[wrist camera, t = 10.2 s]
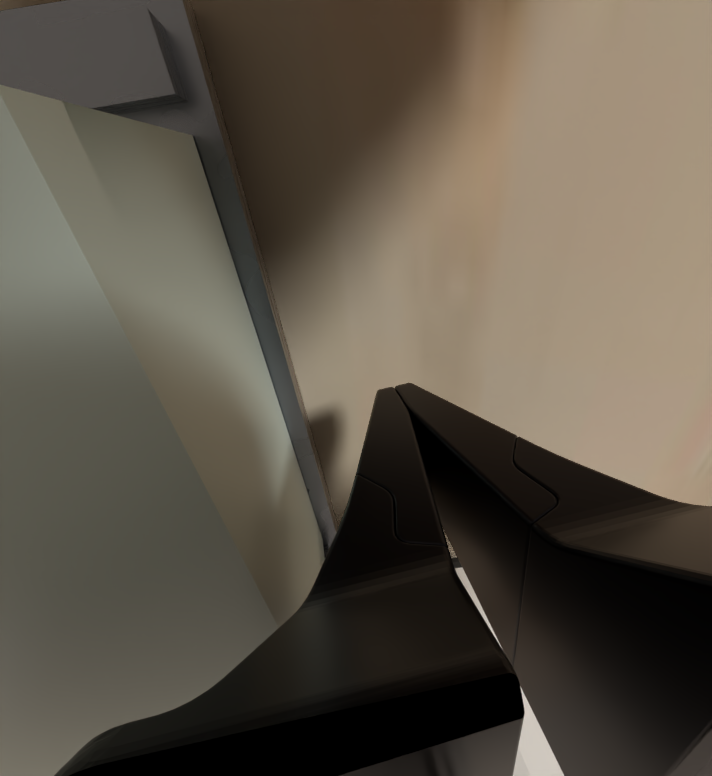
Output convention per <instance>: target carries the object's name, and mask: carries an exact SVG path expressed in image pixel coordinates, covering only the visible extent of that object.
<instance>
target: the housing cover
mask: <svg viewBox="0 0 712 776" xmlns="http://www.w3.org/2000/svg"><path fill="white" fill-rule="evenodd" d="M324 560H325V557H324V547H323V539H322V536H321V532H320V529H319V526H318V523H317V520H316V517H315V514H314V511H313V508H312V505H311V501H310V498H309V495H308V492H307V489H306V486H305V483H304V480H303V477H302V474H301V470H300V467H299V464H298V461H297V458H296V455H295V452H294V449H293V446H292V443H291V439H290V436H289V433H288V430H287V427H286V424H285V421H284V418H283V415H282V411H281V408H280V405H279V402H278V399H277V396H276V393H275V390H274V387H273V384H272V380H271V377H270V374H269V371H268V368H267V365H266V362H265V359H264V356H263V353H262V349H261V346H260V343H259V340H258V337H257V334H256V331H255V328H254V325H253V322H252V318H251V315H250V312H249V309H248V306H247V303H246V300H245V297H244V294H243V290H242V287H241V284H240V281H239V278H238V275H237V272H236V269H235V266H234V263H233V259H232V256H231V253H230V250H229V247H228V244H227V241H226V238H225V235H224V232H223V228H222V225H221V222H220V219H219V216H218V213H217V210H216V207H215V204H214V201H213V197H212V194H211V191H210V188H209V185H208V182H207V179H206V176H205V173H204V170H203V166H202V163H201V160H200V157H199V154H198V151H197V148H196V145H195V142H194V138H193V135H189V134H186V133H182V132H178V131H174V130H170V129H167V128H163V127H159V126H155V125H151V124H148V123H144V122H140V121H136V120H132V119H129V118H125V117H121V116H117V115H113V114H110V113H106V112H102V111H98V110H94V109H91V108H87V107H83V106H79V105H76V104H72V103H68V102H64V101H60V100H57V99H53V98H49V97H45V96H41V95H38V94H34V93H30V92H26V91H22V90H19V89H15V88H11V87H7V86H3V85H0V776H54V775H55V774H56V773H57V772H58V771H59V770H60V769H61V768H62V767H63V766H64V765H65V764H66V763H67V762H68V761H69V760H70V759H71V758H72V757H73V756H74V755H75V754H76V753H77V752H78V751H79V750H80V749H81V748H82V747H83V746H84V745H85V744H87V743H88V742H89V741H90V740H91V739H93V738H94V737H96V736H97V735H99V734H101V733H103V732H105V731H107V730H109V729H111V728H113V727H116V726H119V725H122V724H125V723H128V722H132V721H136V720H140V719H143V718H147V717H151V716H155V715H158V714H161V713H164V712H167V711H170V710H173V709H175V708H177V707H179V706H181V705H183V704H185V703H187V702H189V701H191V700H193V699H194V698H196V697H198V696H199V695H201V694H202V693H204V692H206V691H207V690H209V689H210V688H211V687H213V686H214V685H215V684H216V683H217V682H219V681H220V680H221V679H222V678H224V677H225V676H226V675H227V674H228V673H229V672H230V671H231V670H233V669H234V668H235V667H236V666H237V665H238V664H239V663H240V662H241V661H243V660H244V659H245V658H246V657H247V656H248V655H249V654H250V653H251V652H252V651H254V650H255V649H256V648H257V647H258V646H259V645H260V644H261V643H262V642H264V641H265V640H266V639H267V638H268V637H269V636H270V635H271V634H272V633H274V632H275V631H276V630H277V629H278V628H279V627H280V626H281V625H282V624H284V623H285V622H286V621H287V620H288V619H289V618H290V617H291V616H292V615H293V614H295V613H296V612H297V610H298V609H299V608H300V607H301V605H302V604H303V602H304V601H305V599H306V598H307V596H308V594H309V593H310V591H311V589H312V587H313V585H314V582H315V580H316V578H317V576H318V574H319V571H320V569H321V567H322V564H323V562H324Z"/></svg>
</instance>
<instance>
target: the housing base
mask: <svg viewBox="0 0 712 776" xmlns="http://www.w3.org/2000/svg"><path fill="white" fill-rule="evenodd" d="M0 85H3V86H7V87H11V88H15V89H19V90H22V91H26V92H30V93H34V94H38V95H41V96H45V97H49V98H53V99H57V100H60V101H64V102H68V103H72V104H76V105H79V106H83V107H87V108H91V109H94V110H98V111H102V112H106V113H110V114H113V115H117V116H121V117H125V118H129V119H132V120H136V121H140V122H144V123H148V124H151V125H155V126H159V127H163V128H167V129H170V130H174V131H178V132H182V133H186V134H189V135H193V138H194V142H195V145H196V148H197V151H198V154H199V157H200V160H201V163H202V166H203V170H204V173H205V176H206V179H207V182H208V185H209V188H210V191H211V194H212V197H213V201H214V204H215V207H216V210H217V213H218V216H219V219H220V222H221V225H222V228H223V232H224V235H225V238H226V241H227V244H228V247H229V250H230V253H231V256H232V259H233V263H234V266H235V269H236V272H237V275H238V278H239V281H240V284H241V287H242V290H243V294H244V297H245V300H246V303H247V306H248V309H249V312H250V315H251V318H252V322H253V325H254V328H255V331H256V334H257V337H258V340H259V343H260V346H261V349H262V353H263V356H264V359H265V362H266V365H267V368H268V371H269V374H270V377H271V380H272V384H273V387H274V390H275V393H276V396H277V399H278V402H279V405H280V408H281V411H282V415H283V418H284V421H285V424H286V427H287V430H288V433H289V436H290V439H291V443H292V446H293V449H294V452H295V455H296V458H297V461H298V464H299V467H300V470H301V474H302V477H303V480H304V483H305V486H306V489H307V492H308V495H309V498H310V501H311V505H312V508H313V511H314V514H315V517H316V520H317V523H318V526H319V529H320V532H321V536H322V539H323V547H324V557H326V555H327V553H328V551H329V548H330V546H331V544H332V541H333V539H334V537H335V534H336V532H337V530H338V525H337V521H336V518H335V514H334V510H333V507H332V503H331V500H330V496H329V493H328V489H327V485H326V482H325V478H324V475H323V471H322V468H321V464H320V460H319V457H318V453H317V450H316V446H315V443H314V439H313V436H312V432H311V428H310V425H309V421H308V418H307V414H306V411H305V407H304V403H303V400H302V396H301V393H300V389H299V386H298V382H297V378H296V375H295V371H294V368H293V364H292V361H291V357H290V353H289V350H288V346H287V343H286V339H285V336H284V332H283V329H282V325H281V321H280V318H279V314H278V311H277V307H276V304H275V300H274V296H273V293H272V289H271V286H270V282H269V279H268V275H267V271H266V268H265V264H264V261H263V257H262V254H261V250H260V247H259V243H258V239H257V236H256V232H255V229H254V225H253V222H252V218H251V214H250V211H249V207H248V204H247V200H246V197H245V193H244V189H243V186H242V182H241V179H240V175H239V172H238V168H237V164H236V161H235V157H234V154H233V150H232V147H231V143H230V140H229V136H228V132H227V129H226V125H225V122H224V118H223V115H222V111H221V107H220V104H219V100H218V97H217V93H216V90H215V86H214V82H213V79H212V75H211V72H210V68H209V65H208V61H207V58H206V54H205V50H204V47H203V43H202V40H201V36H200V33H199V29H198V25H197V22H196V18H195V15H194V11H193V8H192V6H191V4H190V3H189V1H188V0H65V1H59V2H53V3H46V4H40V5H34V6H28V7H21V8H15V9H9V10H2V11H0Z"/></svg>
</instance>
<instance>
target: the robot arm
mask: <svg viewBox="0 0 712 776" xmlns="http://www.w3.org/2000/svg"><path fill="white" fill-rule="evenodd" d="M442 527H443V528H442ZM443 529H444V531H445V533H446V535H447V537H448V539H449V541H450V543H451V545H452V547H453V549H454V551H455V553H456V555H457V557H458V559H459V562H460V564H461V566H462V568H463V570H464V572H465V574H466V576H467V578H468V580H469V582H470V584H471V586H472V588H473V590H474V592H475V594H476V596H477V598H478V600H479V602H480V604H481V606H482V608H483V611H484V613H485V615H486V617H487V619H488V621H489V623H490V625H491V627H492V629H493V631H494V633H495V635H496V637H497V639H498V641H499V643H500V645H501V647H502V648H501V647H500V645H499V643H498V642H497V640H496V638H495V637H494V635H493V633H492V632H491V630H490V628H489V627H488V625H487V623H486V622H485V620H484V618H483V617H482V615H481V613H480V612H479V610H478V608H477V607H476V605H475V604H474V602H473V600H472V599H471V597H470V595H469V594H468V592H467V590H466V589H465V587H464V585H463V584H462V582H461V580H460V579H459V577H458V575H457V573H456V570H455V568H454V565H453V562H452V559H451V556H450V552H449V550H448V545H447V542H446V538H445V535H444V531H443ZM502 649H503V650H502ZM520 686H521V687H520ZM521 688H522V690H523V693H524V695H525V697H526V699H527V701H528V703H529V705H530V707H531V709H532V711H533V713H534V715H535V717H536V719H537V721H538V723H539V725H540V727H541V729H542V731H543V733H544V735H545V737H546V739H547V741H548V744H549V746H550V748H551V750H552V752H553V754H554V756H555V758H556V760H557V762H558V764H559V766H560V768H561V770H562V772H563V774H564V776H712V506H701V505H693V504H687V503H682V502H678V501H674V500H670V499H667V498H664V497H661V496H658V495H656V494H653V493H650V492H648V491H645V490H643V489H640V488H638V487H635V486H633V485H630V484H628V483H625V482H623V481H620V480H618V479H615V478H613V477H610V476H608V475H605V474H603V473H600V472H598V471H595V470H593V469H590V468H588V467H585V466H583V465H580V464H578V463H575V462H573V461H571V460H568V459H566V458H564V457H561V456H559V455H556V454H554V453H552V452H550V451H548V450H546V449H544V448H542V447H539V446H537V445H535V444H533V443H531V442H529V441H527V440H525V439H523V438H521V437H517V436H516V435H515V434H513V433H511V432H509V431H507V430H505V429H503V428H501V427H499V426H497V425H495V424H493V423H491V422H489V421H487V420H485V419H483V418H481V417H479V416H476V415H474V414H472V413H470V412H468V411H466V410H464V409H462V408H460V407H458V406H456V405H454V404H452V403H450V402H448V401H446V400H444V399H442V398H440V397H438V396H436V395H434V394H432V393H430V392H428V391H426V390H424V389H422V388H420V387H418V386H416V385H414V384H412V383H406V384H402V385H398V386H396V387H395V389H394V388H393V387H389V388H384V389H380V390H378V391H377V393H376V397H375V401H374V405H373V409H372V413H371V417H370V421H369V425H368V429H367V433H366V437H365V441H364V445H363V449H362V453H361V457H360V460H359V464H358V468H357V472H356V476H355V480H354V483H353V487H352V491H351V494H350V498H349V501H348V504H347V507H346V510H345V512H344V515H343V517H342V520H341V523H340V525H339V528H338V530H337V532H336V534H335V537H334V539H333V541H332V544H331V546H330V548H329V551H328V553H327V555H326V557H325V560H324V562H323V564H322V567H321V569H320V571H319V574H318V576H317V578H316V580H315V582H314V585H313V587H312V589H311V591H310V593H309V594H308V596H307V598H306V599H305V601H304V602H303V604H302V605H301V607H300V608H299V609H298V610H297V612H296V613H295V614H293V615H292V616H291V617H290V618H289V619H288V620H287V621H286V622H285V623H284V624H282V625H281V626H280V627H279V628H278V629H277V630H276V631H275V632H274V633H272V634H271V635H270V636H269V637H268V638H267V639H266V640H265V641H264V642H262V643H261V644H260V645H259V646H258V647H257V648H256V649H255V650H254V651H252V652H251V653H250V654H249V655H248V656H247V657H246V658H245V659H244V660H243V661H241V662H240V663H239V664H238V665H237V666H236V667H235V668H234V669H233V670H231V671H230V672H229V673H228V674H227V675H226V676H225V677H224V678H222V679H221V680H220V681H219V682H217V683H216V684H215V685H214V686H213V687H211V688H210V689H209V690H207V691H206V692H204V693H202V694H201V695H199V696H198V697H196V698H194V699H193V700H191V701H189V702H187V703H185V704H183V705H181V706H179V707H177V708H175V709H173V710H170V711H167V712H164V713H161V714H158V715H155V716H151V717H147V718H143V719H140V720H136V721H132V722H128V723H125V724H122V725H119V726H116V727H113V728H111V729H109V730H107V731H105V732H103V733H101V734H99V735H97V736H96V737H94V738H93V739H91V740H90V741H89V742H88V743H87V744H85V745H84V746H83V747H82V748H81V749H80V750H79V751H78V752H77V753H76V754H75V755H74V756H73V757H72V758H71V759H70V760H69V761H68V762H67V763H66V764H65V765H64V766H63V767H62V768H61V769H60V770H59V771H58V772H57V773H56V774H55V775H54V776H513V772H514V767H515V762H516V756H517V751H518V746H519V740H520V735H521V730H522V724H523V719H524V714H525V711H524V704H523V699H522V693H521Z"/></svg>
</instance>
